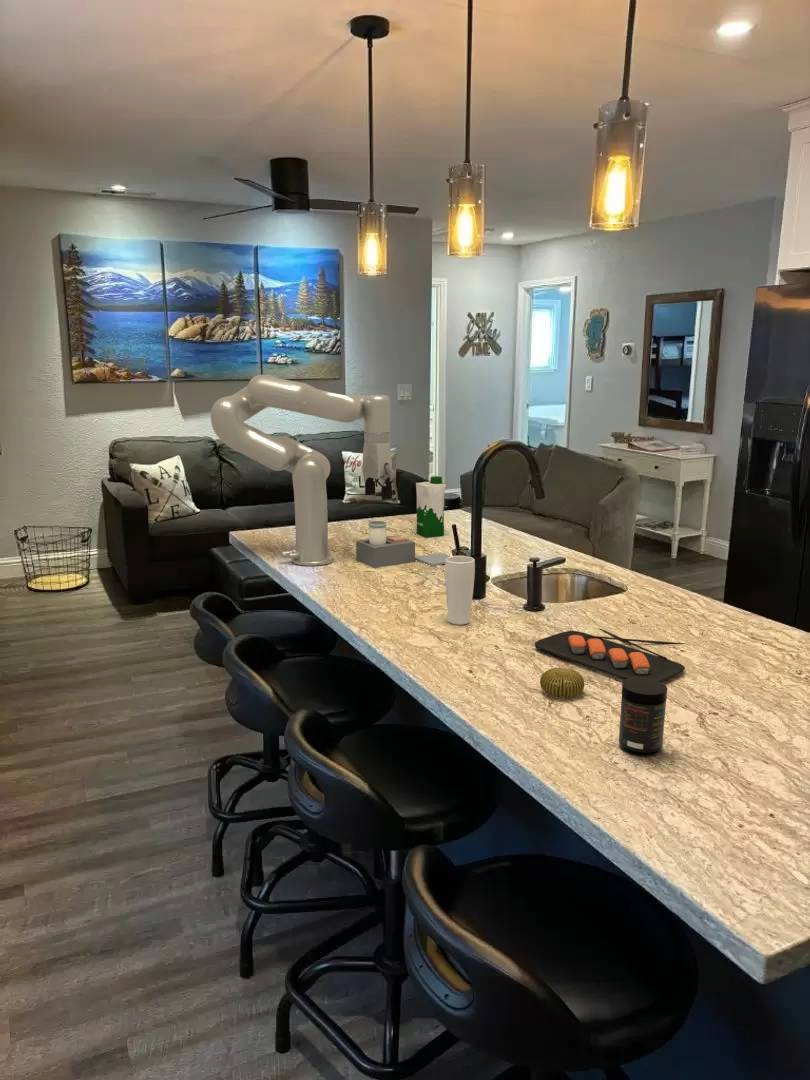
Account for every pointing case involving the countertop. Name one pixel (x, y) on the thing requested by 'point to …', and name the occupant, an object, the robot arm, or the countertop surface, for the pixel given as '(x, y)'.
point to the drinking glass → (459, 588)
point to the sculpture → (562, 683)
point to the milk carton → (430, 507)
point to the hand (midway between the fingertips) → (378, 496)
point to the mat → (433, 559)
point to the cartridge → (377, 533)
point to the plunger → (396, 539)
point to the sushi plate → (611, 655)
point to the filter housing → (385, 553)
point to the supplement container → (642, 716)
